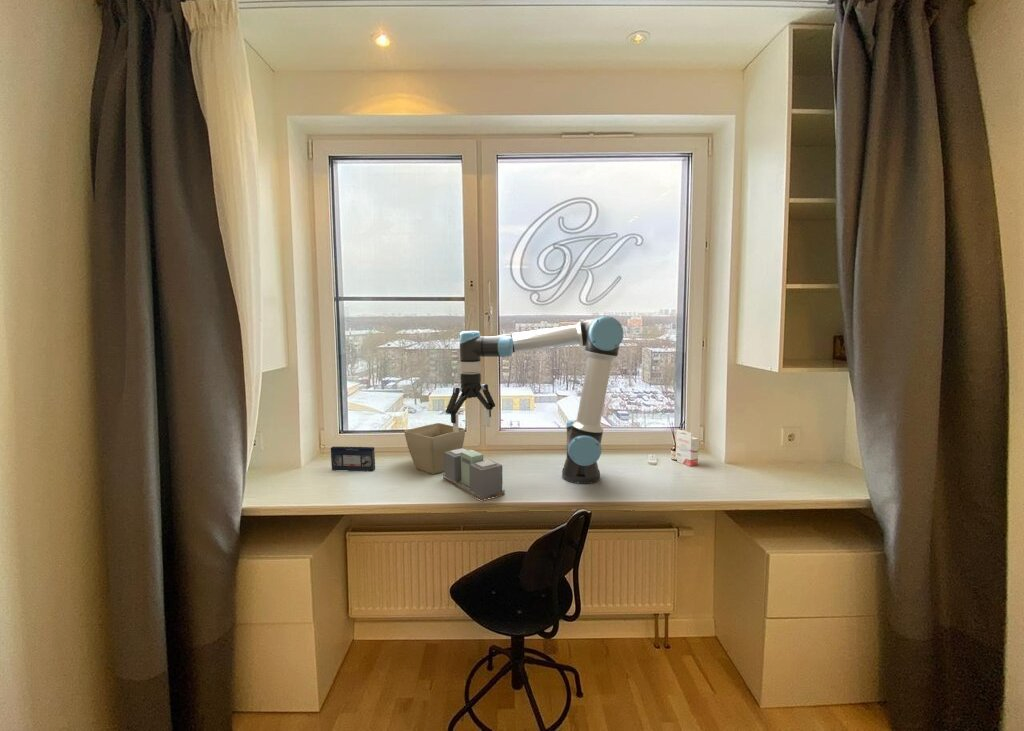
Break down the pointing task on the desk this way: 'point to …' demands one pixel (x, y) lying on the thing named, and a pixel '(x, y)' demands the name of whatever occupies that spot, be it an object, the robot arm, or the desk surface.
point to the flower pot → (433, 445)
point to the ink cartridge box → (686, 448)
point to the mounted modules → (475, 473)
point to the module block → (467, 459)
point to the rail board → (467, 489)
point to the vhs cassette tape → (353, 458)
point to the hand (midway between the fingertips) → (471, 428)
